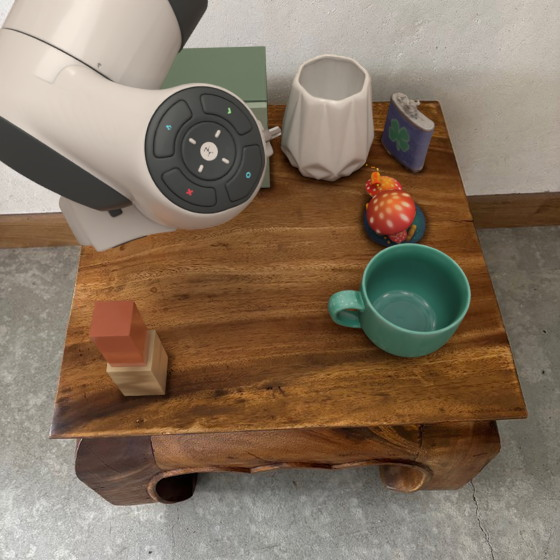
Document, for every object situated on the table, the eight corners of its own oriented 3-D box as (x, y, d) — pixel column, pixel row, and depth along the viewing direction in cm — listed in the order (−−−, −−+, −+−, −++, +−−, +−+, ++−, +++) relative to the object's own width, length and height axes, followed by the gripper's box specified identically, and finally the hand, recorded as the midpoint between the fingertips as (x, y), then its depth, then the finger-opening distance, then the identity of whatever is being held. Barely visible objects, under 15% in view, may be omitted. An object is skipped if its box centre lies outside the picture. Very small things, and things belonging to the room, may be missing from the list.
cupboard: (269, 182, 85) (266, 99, 71) (140, 185, 85) (112, 103, 71) (268, 131, 91) (265, 45, 77) (147, 134, 90) (122, 49, 77)
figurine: (429, 256, 77) (444, 220, 70) (362, 255, 78) (370, 218, 70) (421, 191, 84) (433, 151, 76) (359, 189, 84) (366, 150, 77)
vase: (376, 132, 90) (391, 52, 77) (361, 197, 83) (375, 120, 70) (293, 118, 92) (294, 37, 79) (271, 180, 85) (269, 103, 72)
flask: (425, 169, 86) (441, 116, 77) (410, 176, 85) (425, 123, 76) (390, 133, 90) (401, 78, 81) (375, 139, 89) (385, 85, 80)
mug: (441, 280, 75) (459, 240, 67) (459, 365, 69) (482, 332, 61) (320, 284, 75) (324, 245, 67) (328, 370, 69) (333, 338, 61)
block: (111, 367, 61) (88, 336, 54) (115, 334, 63) (94, 301, 56) (147, 366, 61) (129, 335, 54) (150, 333, 63) (133, 299, 56)
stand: (124, 396, 67) (105, 371, 60) (129, 358, 70) (111, 330, 63) (165, 394, 67) (151, 370, 61) (168, 357, 70) (155, 329, 63)
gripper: (272, 91, 47) (237, 120, 60) (40, 188, 42) (58, 196, 56) (301, 160, 48) (261, 173, 61) (79, 262, 44) (88, 252, 57)
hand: (163, 185), depth 58 cm, fingers open, 8 cm apart
